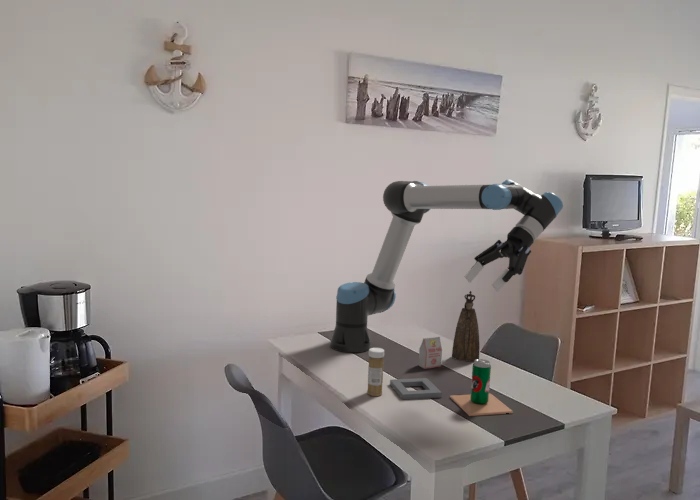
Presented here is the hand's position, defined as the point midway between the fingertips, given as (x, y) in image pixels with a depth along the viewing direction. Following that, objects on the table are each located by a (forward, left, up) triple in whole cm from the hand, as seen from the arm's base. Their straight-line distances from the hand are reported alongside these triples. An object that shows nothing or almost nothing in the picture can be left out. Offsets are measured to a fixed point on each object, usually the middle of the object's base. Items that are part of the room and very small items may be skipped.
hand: (480, 283), depth 172 cm
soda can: (+12, -4, -32) cm, 34 cm away
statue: (-27, +10, -33) cm, 44 cm away
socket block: (0, -19, -33) cm, 38 cm away
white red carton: (-21, -6, -33) cm, 40 cm away
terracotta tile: (+13, -4, -33) cm, 35 cm away
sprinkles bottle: (0, -32, -33) cm, 46 cm away
